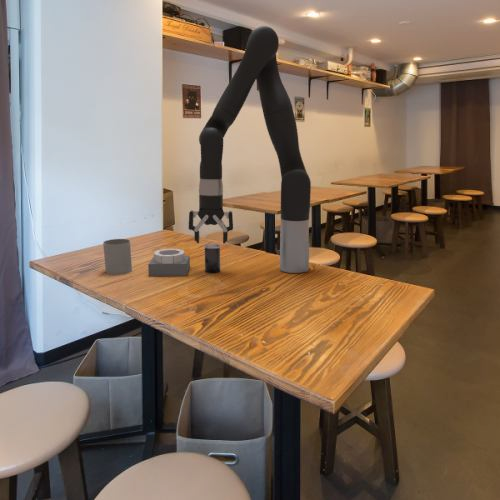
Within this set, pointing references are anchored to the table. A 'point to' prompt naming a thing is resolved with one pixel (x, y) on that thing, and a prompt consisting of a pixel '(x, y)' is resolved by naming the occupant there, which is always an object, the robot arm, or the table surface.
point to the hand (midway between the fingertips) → (211, 242)
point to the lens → (212, 257)
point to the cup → (117, 256)
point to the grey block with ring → (169, 263)
